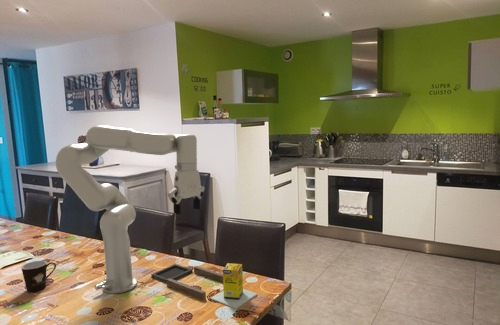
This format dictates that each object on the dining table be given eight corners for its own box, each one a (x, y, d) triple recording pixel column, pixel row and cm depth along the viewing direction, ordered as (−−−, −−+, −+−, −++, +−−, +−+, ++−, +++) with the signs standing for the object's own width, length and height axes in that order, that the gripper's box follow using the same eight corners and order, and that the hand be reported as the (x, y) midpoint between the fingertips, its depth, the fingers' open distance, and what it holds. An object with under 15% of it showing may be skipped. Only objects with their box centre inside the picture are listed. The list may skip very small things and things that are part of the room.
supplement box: (239, 300, 126) (238, 270, 125) (223, 298, 127) (222, 269, 126) (243, 292, 132) (242, 263, 131) (228, 291, 133) (226, 262, 132)
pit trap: (168, 283, 142) (168, 280, 142) (151, 277, 149) (151, 274, 149) (192, 272, 152) (192, 269, 152) (175, 266, 159) (175, 263, 159)
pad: (236, 308, 121) (236, 307, 121) (210, 299, 128) (210, 297, 128) (257, 294, 130) (257, 293, 130) (232, 286, 138) (232, 285, 138)
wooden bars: (202, 299, 128) (202, 293, 128) (167, 285, 140) (166, 279, 140) (231, 283, 141) (231, 277, 140) (196, 271, 153) (196, 265, 153)
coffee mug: (22, 296, 136) (19, 271, 135) (24, 287, 143) (22, 263, 142) (57, 288, 141) (54, 264, 140) (57, 280, 149) (55, 257, 147)
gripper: (174, 170, 126) (175, 217, 128) (210, 166, 139) (210, 208, 141) (161, 168, 130) (162, 214, 132) (197, 164, 144) (197, 205, 146)
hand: (187, 211), depth 137 cm, fingers open, 9 cm apart
